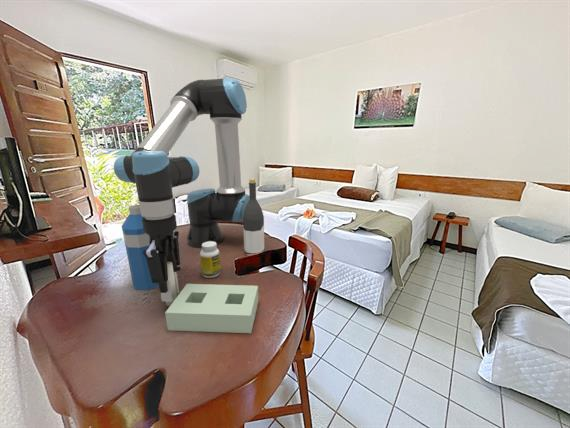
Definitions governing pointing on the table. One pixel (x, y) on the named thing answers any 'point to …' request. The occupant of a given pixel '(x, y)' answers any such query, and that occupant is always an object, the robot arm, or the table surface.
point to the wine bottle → (253, 223)
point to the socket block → (213, 308)
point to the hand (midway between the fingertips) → (170, 296)
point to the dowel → (172, 280)
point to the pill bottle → (210, 259)
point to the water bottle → (137, 249)
